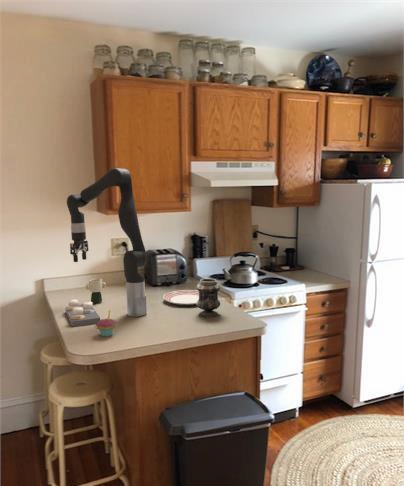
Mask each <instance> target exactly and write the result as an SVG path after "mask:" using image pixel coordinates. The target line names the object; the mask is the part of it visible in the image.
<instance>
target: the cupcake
mask: <svg viewBox="0 0 404 486" xmlns="http://www.w3.org/2000/svg"><path fill="white" fill-rule="evenodd" d="M110 316H111V309H109V310H108V314H107V318H103V319H100V321H99V322H97V323H95V327H96V329H97V330H98V331H99V332H100V336H101V337H110V336H112V335H113V332H114V329H115V328H116V327H117V322H116V321H115V320H114V319H112V318H110Z"/></svg>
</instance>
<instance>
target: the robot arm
mask: <svg viewBox="0 0 404 486" xmlns="http://www.w3.org/2000/svg"><path fill="white" fill-rule="evenodd" d="M112 187H117V188H119V191H120V203H119V205H118V211H117V214H118V220H119V224H120V225H119V226H120V228H121V229H122V231H123V233H124V234H125V235H126V236H127V238H129V240H130V243H131V247H132V250H127V251H126V252H125V253H124V255H123V260H122V261H123V272H124V277H125V281H126V282H125V285H126V287H125V288H126V312H127V316H128V317H137V318H138V317H141V316H145V315H147V312H148V311H147V309H148V308H147V307H148V306H147V296H146V291H145V281H146V280H145V279H146V278H145V275H144V274H142V273H139V270H138V269H139V268H141V267H145V266H146V265H147V263H148V255H147V251H146V247H145V245H144V241H143V238H142V232H141V229H140V225H139V224H140V223H139V218H138V217H139V216H138V214H137V209H136V205H135V197H134V191H133V180H132V176H131V172H130V171H129V169H127V168H119V167H114V168H113V167H112V168H111V169H110V170H108V171H107V172H106V173H104V175H102V177H101V178H99V179H98V180H97V181H95V182H93V184H90V185H89V186H87V187H85V188H83V189H82V190H81V192H80V193H79V194H70V195H68V197H67V199H66V205H67V208H68V212H69V214H70V231H71V232H70V233H71V241H73V242H71V243H70V244H69V250H70V251H69V252H70V255H72V256H73V257H72V258H73V262H74V263H78V262H79V257H78V254H79V252H80V251H81V258H82V260H83V261H84V260H87V252H89V241H88V240H87V233H86V224H85V223H86V222H85V213H83V212H82V211H80V210H79V208H83V207H86V206H87V205H88V204H89V203H90V202H91V201H93V200H95V199H96V198H99V197H100V195H102V193H103V192H104V191H106V190H107V189H109V188H112Z"/></svg>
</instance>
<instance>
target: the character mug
mask: <svg viewBox="0 0 404 486" xmlns="http://www.w3.org/2000/svg"><path fill="white" fill-rule="evenodd" d="M106 284H107V283H106V282H103V279H102V278H92V279H89V280H88V283H86V284H85V290H87V291H88V290H89V292H91V296H90V302H92V303H94V304H98V303H101V302H102V301H103V297H102V291H103V289H105V288H107V286H106ZM88 286H89V287H88Z"/></svg>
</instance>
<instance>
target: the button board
mask: <svg viewBox="0 0 404 486" xmlns="http://www.w3.org/2000/svg"><path fill="white" fill-rule="evenodd" d="M76 307H82V308H83V304H82V305H78V306H75V307H70V306H67V307H65V313H66V314H65V315H66V316H67V318H68V320H69V322H70V325H71V326H72V327H73V328H74V327H79V326H80V327H81V326H88V325H94V324H95V325H96V324H97V322H99V321H100V320H101V317H100V315H99V314H98V312H97V311H96V310H95V308H94V307H93V308H91V309H83V314H81V315H73V308H76Z"/></svg>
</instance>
